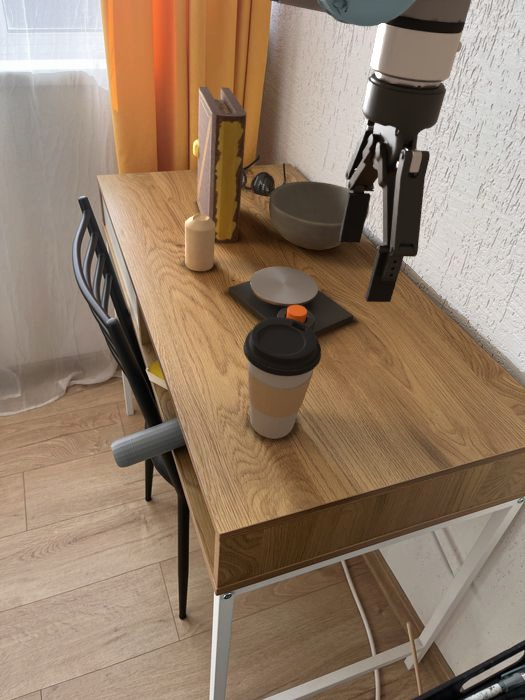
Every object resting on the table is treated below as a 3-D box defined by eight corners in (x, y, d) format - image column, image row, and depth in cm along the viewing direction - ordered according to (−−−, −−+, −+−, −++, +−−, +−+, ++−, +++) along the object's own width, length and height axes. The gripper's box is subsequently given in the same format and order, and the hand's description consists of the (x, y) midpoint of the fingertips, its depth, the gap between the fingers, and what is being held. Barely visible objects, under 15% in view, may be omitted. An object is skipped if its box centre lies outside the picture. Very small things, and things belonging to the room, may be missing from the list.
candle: (186, 256, 104) (186, 208, 97) (214, 258, 104) (216, 210, 98) (183, 270, 100) (183, 221, 93) (212, 272, 100) (214, 224, 94)
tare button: (282, 316, 86) (283, 308, 85) (296, 311, 88) (298, 302, 87) (294, 327, 85) (296, 318, 83) (309, 321, 86) (311, 312, 85)
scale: (227, 293, 95) (228, 279, 93) (286, 273, 102) (288, 259, 100) (291, 347, 85) (294, 332, 83) (352, 320, 92) (356, 306, 90)
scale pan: (236, 280, 93) (236, 277, 93) (288, 263, 99) (288, 260, 99) (279, 314, 86) (279, 311, 86) (331, 294, 92) (332, 291, 92)
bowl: (290, 212, 123) (295, 170, 117) (371, 238, 117) (382, 195, 111) (247, 245, 109) (251, 200, 103) (338, 277, 103) (348, 230, 96)
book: (244, 241, 111) (254, 116, 95) (204, 242, 109) (207, 115, 93) (226, 197, 127) (231, 84, 111) (190, 197, 125) (191, 82, 109)
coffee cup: (310, 406, 75) (328, 322, 65) (299, 457, 68) (317, 370, 58) (246, 392, 76) (255, 307, 66) (228, 440, 69) (235, 352, 59)
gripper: (504, 119, 42) (426, 331, 55) (405, 52, 61) (365, 222, 74) (413, 113, 41) (357, 331, 54) (341, 47, 59) (313, 220, 73)
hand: (362, 268), depth 64 cm, fingers open, 13 cm apart
